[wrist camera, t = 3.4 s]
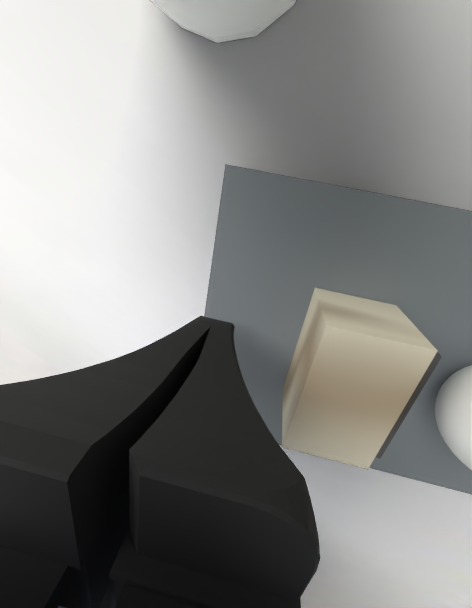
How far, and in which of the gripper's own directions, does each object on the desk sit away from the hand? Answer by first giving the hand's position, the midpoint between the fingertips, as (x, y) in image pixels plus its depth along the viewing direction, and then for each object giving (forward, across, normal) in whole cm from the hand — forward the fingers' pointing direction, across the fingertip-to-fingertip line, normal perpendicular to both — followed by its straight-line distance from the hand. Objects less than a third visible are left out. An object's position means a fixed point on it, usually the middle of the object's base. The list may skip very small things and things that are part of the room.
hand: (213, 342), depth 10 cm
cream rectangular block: (+1, -5, 0) cm, 5 cm away
